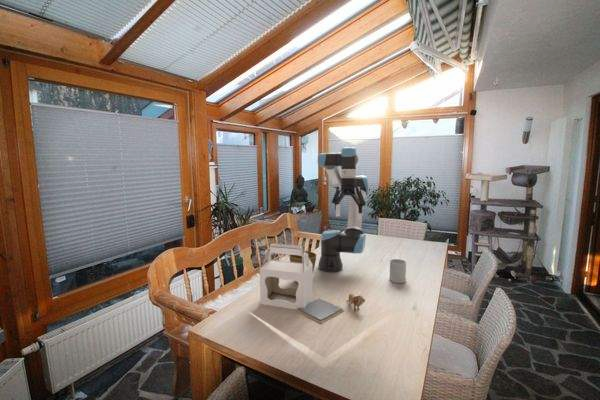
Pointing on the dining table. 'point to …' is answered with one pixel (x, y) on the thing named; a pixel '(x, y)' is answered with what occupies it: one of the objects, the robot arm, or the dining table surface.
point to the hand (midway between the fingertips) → (347, 217)
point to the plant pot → (299, 260)
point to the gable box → (286, 277)
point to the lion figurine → (356, 301)
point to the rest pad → (320, 310)
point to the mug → (397, 271)
